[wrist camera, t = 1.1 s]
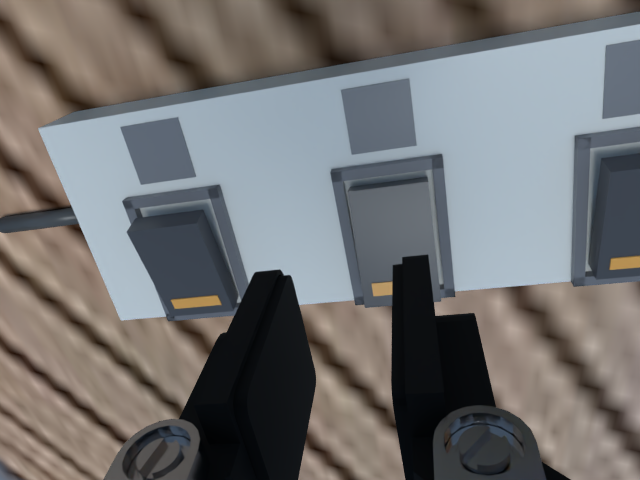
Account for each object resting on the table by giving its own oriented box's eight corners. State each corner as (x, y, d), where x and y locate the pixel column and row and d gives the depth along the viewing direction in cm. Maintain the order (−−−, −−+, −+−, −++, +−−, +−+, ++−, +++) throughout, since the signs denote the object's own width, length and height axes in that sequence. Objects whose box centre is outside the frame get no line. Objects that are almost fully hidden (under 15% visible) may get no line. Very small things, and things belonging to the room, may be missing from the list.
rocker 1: (135, 218, 32) (125, 232, 30) (203, 209, 31) (196, 224, 30) (177, 301, 36) (170, 317, 35) (238, 296, 35) (233, 311, 34)
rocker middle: (350, 186, 30) (347, 192, 29) (427, 176, 29) (428, 182, 28) (366, 298, 32) (364, 308, 31) (439, 291, 31) (441, 301, 30)
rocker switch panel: (-42, 132, 36) (-96, 153, 32) (765, -11, 27) (831, -7, 23) (42, 299, 43) (5, 334, 38) (724, 232, 33) (770, 270, 29)
